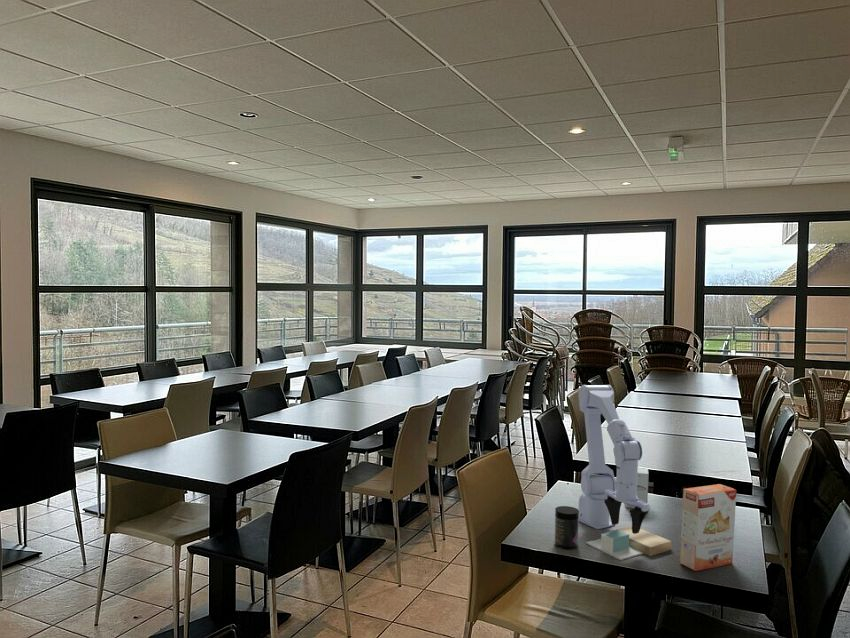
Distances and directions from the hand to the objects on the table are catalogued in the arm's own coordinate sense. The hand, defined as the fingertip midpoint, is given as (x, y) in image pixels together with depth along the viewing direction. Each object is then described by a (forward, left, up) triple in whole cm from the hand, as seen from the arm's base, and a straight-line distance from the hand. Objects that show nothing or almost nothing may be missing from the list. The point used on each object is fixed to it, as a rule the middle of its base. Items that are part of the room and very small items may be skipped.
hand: (625, 528), depth 182 cm
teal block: (0, 0, -3) cm, 3 cm away
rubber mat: (0, -4, -5) cm, 7 cm away
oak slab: (+1, +6, -5) cm, 8 cm away
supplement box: (-23, +32, -6) cm, 40 cm away
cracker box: (+19, +11, -6) cm, 23 cm away
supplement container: (-9, -14, -6) cm, 18 cm away
